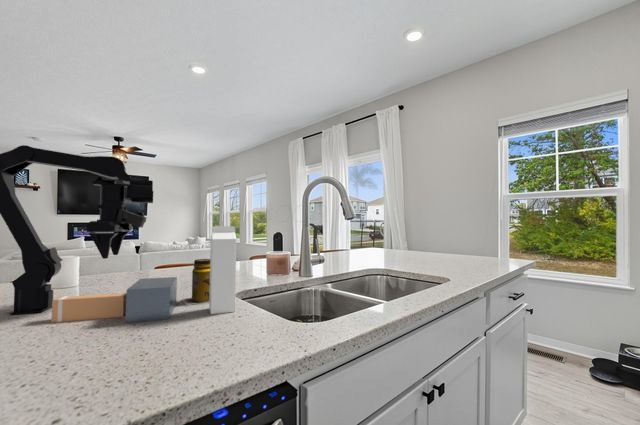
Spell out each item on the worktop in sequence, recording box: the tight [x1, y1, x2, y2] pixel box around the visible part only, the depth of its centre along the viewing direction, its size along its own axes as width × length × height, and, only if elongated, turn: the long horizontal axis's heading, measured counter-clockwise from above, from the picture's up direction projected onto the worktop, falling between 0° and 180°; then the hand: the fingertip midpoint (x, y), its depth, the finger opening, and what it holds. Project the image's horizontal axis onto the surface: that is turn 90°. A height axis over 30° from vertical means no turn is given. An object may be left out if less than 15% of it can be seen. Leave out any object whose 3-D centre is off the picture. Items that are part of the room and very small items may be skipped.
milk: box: [208, 225, 237, 315], centre depth 80 cm, size 6×6×22 cm
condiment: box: [181, 258, 210, 306], centre depth 89 cm, size 7×8×12 cm
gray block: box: [125, 276, 178, 324], centre depth 77 cm, size 10×14×8 cm
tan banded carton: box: [51, 292, 127, 323], centre depth 73 cm, size 14×3×5 cm, turn 110°
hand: (110, 256), depth 86 cm, fingers open, 9 cm apart
